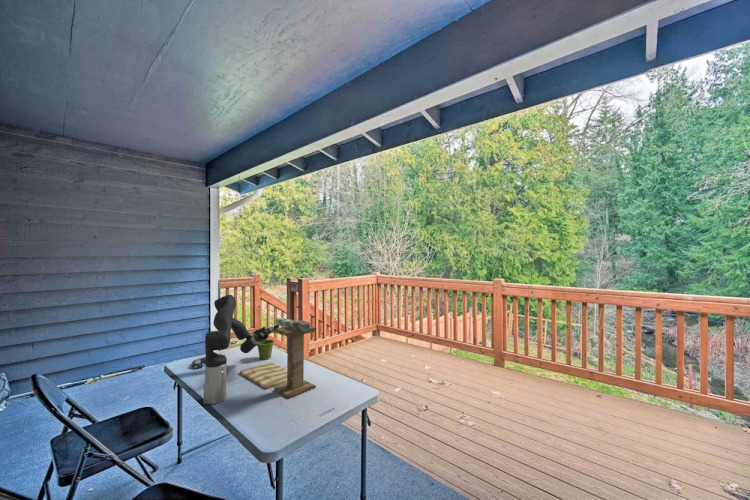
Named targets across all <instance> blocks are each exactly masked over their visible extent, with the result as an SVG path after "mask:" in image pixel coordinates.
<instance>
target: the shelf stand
mask: <svg viewBox="0 0 750 500" xmlns="http://www.w3.org/2000/svg"><path fill="white" fill-rule="evenodd" d="M311 333H317V327H315V326H311V325H310V330H308V331H304V332H300V331H297V330H293V329H291V328H288V327H284V326H281V327H279V328H276V329H275V333H274V334H278V335H282V336H283V337H284V336H285V337H287V353H286V354H287V357H286V360H287V363H286V370H287V383H284V384H281V385H278V386H275V387H273V388H274V389H273V390H274V391H275V392H276V393H278V394H280V395H282V396H284V397H286V398H287V399H289V400H290V399H292V398H295V397H297V395H298V396H300V395H302V393H303V394H304V392H305V393H307V391H308V392H309V390H310V391H312V390H311V389H313V390H315V389H316V387H317V385H315V384H313V383H312V382H309V381H308V380H305V379H304V370H305V369H304V367H305V364H304V361H305V359H304V356H305V355H304V353H305V351H304V350H305V346H304V345H305V344H304V343H305V335H306V334H311ZM314 388H315V389H314Z"/></svg>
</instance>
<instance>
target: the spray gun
mask: <svg viewBox="0 0 750 500" xmlns="http://www.w3.org/2000/svg"><path fill="white" fill-rule="evenodd" d="M218 354H219V355H223V356H225V357H226V358H227V356H226V354H222V353H218ZM191 364H192V365H191V367H192V369H201V368H203V367H205V357H201V358H197V359H194V360H192V361H191Z"/></svg>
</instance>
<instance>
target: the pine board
mask: <svg viewBox="0 0 750 500" xmlns="http://www.w3.org/2000/svg"><path fill="white" fill-rule="evenodd" d="M239 374H240V375H242V376H244V377H245V378H246V379H249V380H250V381H251V382H254V383H255V384H257V385H259V386H260V387H262V388H264V389H265V390H269V389H271V388H274V387H277V386H280V385H283V384H286V383H287V368H284V367H283V366H280V365H277V364H276V363H273V362H271V361H270V362H267V363H264V364H260V365H257V366H253V367H248V368H246V369H243V370H239Z"/></svg>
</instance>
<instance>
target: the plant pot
mask: <svg viewBox="0 0 750 500" xmlns="http://www.w3.org/2000/svg"><path fill="white" fill-rule="evenodd" d="M274 343H275V340H274V339H266V340H264V341H263V342H262V343H260V344H258V345H257V346H256V347H257V351H258V355H259V360H261V361H262V360H263V361H265V360H269V359H271V358H272V352H273V347H274Z"/></svg>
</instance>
